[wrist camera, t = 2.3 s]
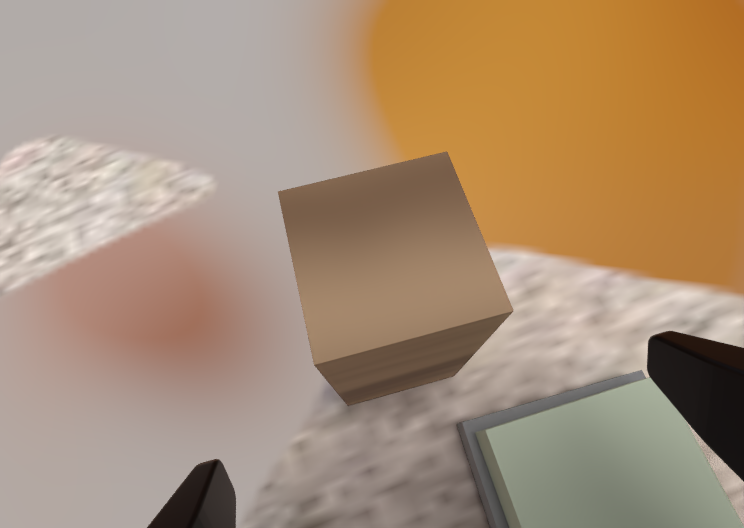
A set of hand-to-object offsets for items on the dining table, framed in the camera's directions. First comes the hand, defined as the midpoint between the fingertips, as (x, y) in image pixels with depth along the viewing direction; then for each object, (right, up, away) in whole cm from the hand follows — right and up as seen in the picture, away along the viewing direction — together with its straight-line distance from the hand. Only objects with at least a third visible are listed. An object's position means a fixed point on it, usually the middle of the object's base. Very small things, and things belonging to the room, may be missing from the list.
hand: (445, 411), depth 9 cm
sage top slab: (+7, -6, +8) cm, 12 cm away
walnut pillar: (-1, -1, +12) cm, 12 cm away
